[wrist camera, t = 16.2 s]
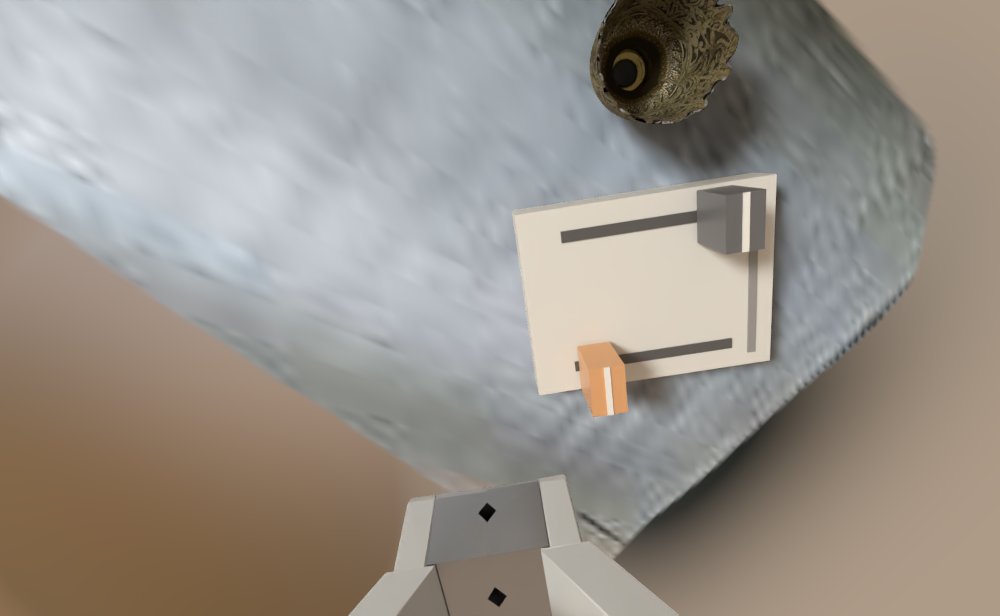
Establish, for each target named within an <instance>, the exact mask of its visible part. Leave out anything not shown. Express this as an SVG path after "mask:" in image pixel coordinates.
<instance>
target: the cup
mask: <svg viewBox="0 0 1000 616" xmlns="http://www.w3.org/2000/svg"><path fill="white" fill-rule="evenodd" d="M717 2H718V0H615V1H614V3H613V5H612V6H611V8H610V9H609V11H608V12H607V14H606V16H605V18H604V20H603V22H602V24H601V27H600V29H599V31H598V33H597V36H596V38H595V41H594V44H593V47H592V51H591V58H590V76H591V82H592V85H593V88H594V91H595V93H596V95H597V97H598V98H599V100H600V101H601V102H602V104H603V105H604V106H605V107H606V108H607V109H608V110H610V111H611V112H613V113H614V114H616V115H618V116H620V117H622V118H625V119H628V120H632V121H637V122H643V123H646V124H673V123H678V122H681V121H683V120H685V119H686V118H687V117H689V116H690V115H691V114H694V113H697V112H699V111H701V110H703V109H705V108H706V107H707V106H708V101H707V100H706V98H707V97H708V96H709V95H711V94H712V93H713V90H714V88H715V86H716V85H717V84H718V83H719V82H721V81H725V80H726V79H727V77H728V76H729V74H730V72H731V66H730V65H729V62H730V60H731V59H732V57H733V56H734V54H735V51H736V48H737V45H738V40H739V37H738V34H737V32H736V31H735V29H734V28H733V27H732V26H731V25H730V23H729V22H728V21H727V20H728V18H729V17H731V14H732V12H733V6H732V5H731V4H723V5H718V4H717ZM623 60H629V61H631V62H632V63H633V64H634V65H635V67H636V70H637V75H636V78H635V80H634V81H633V83H632V84H630V85H628V86H620V85H618V84H617V83H616V82H615V80H614V77H613V71H614V68H615V66H616V65H617V64H618V63H619V62H620V61H623Z"/></svg>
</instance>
